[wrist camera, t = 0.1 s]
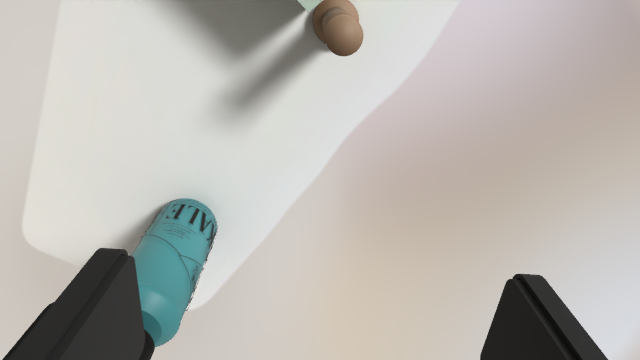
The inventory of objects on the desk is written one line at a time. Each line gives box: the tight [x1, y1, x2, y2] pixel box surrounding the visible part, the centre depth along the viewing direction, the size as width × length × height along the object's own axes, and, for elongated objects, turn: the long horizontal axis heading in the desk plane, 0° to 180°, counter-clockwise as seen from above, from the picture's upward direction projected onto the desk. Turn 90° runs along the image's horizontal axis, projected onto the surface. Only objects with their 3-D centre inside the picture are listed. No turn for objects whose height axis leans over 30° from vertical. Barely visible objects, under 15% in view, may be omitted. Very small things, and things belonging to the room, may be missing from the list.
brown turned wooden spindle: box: [313, 0, 363, 56], centre depth 31 cm, size 4×4×12 cm
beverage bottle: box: [131, 199, 218, 360], centre depth 36 cm, size 6×7×20 cm
